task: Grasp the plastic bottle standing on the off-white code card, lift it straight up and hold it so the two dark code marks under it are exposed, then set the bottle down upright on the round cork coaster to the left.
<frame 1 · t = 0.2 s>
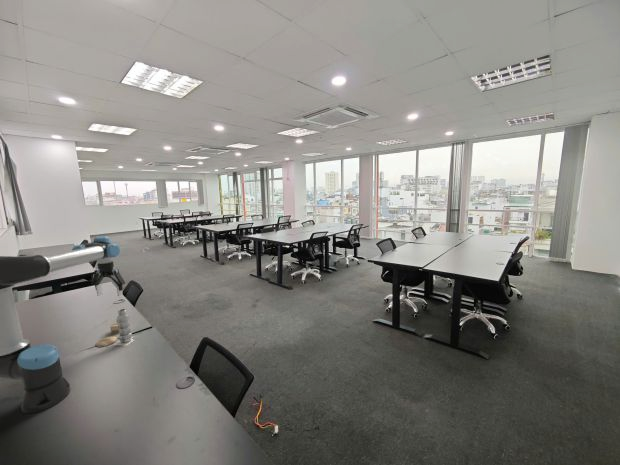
hand: (110, 295, 157), 27 cm above the table, fingers open, 13 cm apart
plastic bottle: (126, 341, 155), resting on code card
cork coaster: (107, 342, 154), on the table
code card: (126, 341, 155), on the table
oak block: (117, 331, 166), on the table
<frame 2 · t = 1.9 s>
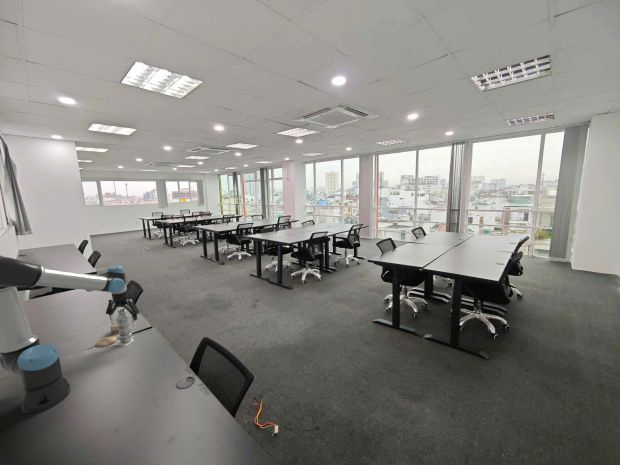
hand: (124, 324, 154), 11 cm above the table, fingers open, 13 cm apart
nothing on the table moved.
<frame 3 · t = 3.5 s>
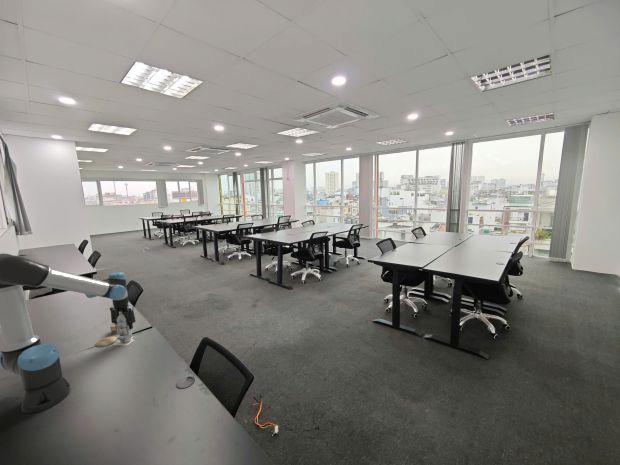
hand: (125, 333, 154), 5 cm above the table, fingers closed on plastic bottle, 6 cm apart
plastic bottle: (126, 341, 155), resting on code card, touching gripper
everything else where it was.
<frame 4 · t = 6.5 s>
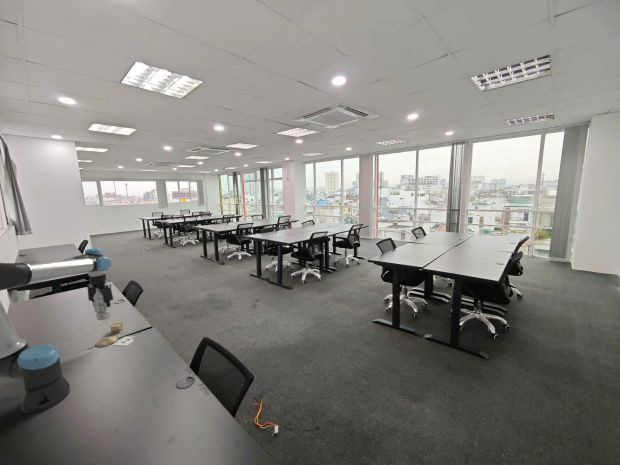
hand: (102, 311, 151), 20 cm above the table, fingers closed on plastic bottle, 6 cm apart
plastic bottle: (104, 319, 152), point 15 cm above the table, touching gripper
everything else where it was.
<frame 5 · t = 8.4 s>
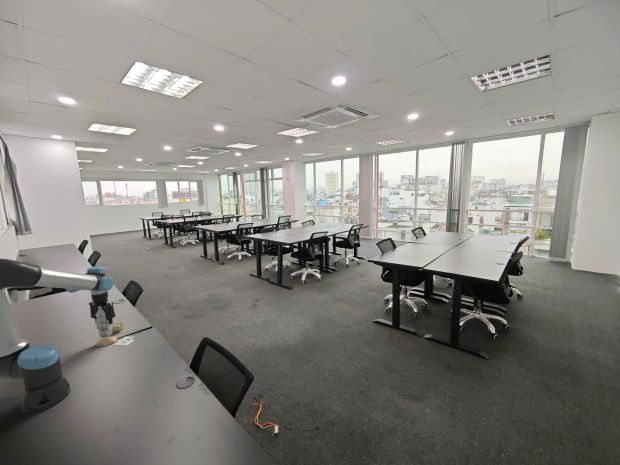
hand: (105, 328, 153), 9 cm above the table, fingers closed on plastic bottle, 6 cm apart
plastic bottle: (106, 336, 154), point 4 cm above the table, touching gripper
everything else where it was.
when the fingers open (6 cm above the table, at t = 9.8 s): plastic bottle stays where it is, resting on cork coaster.
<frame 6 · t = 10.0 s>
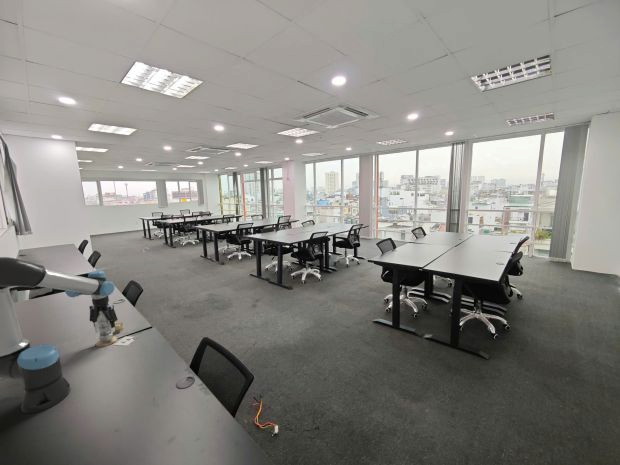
hand: (105, 332, 153), 7 cm above the table, fingers open, 9 cm apart
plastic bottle: (106, 341, 154), resting on cork coaster
everything else where it was.
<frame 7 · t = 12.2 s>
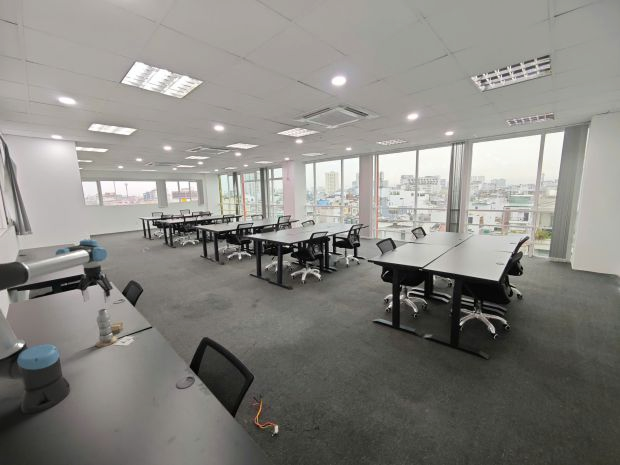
hand: (97, 301, 149), 27 cm above the table, fingers open, 13 cm apart
nothing on the table moved.
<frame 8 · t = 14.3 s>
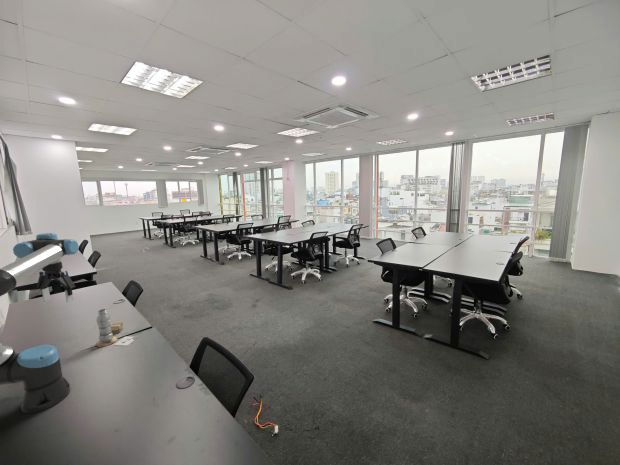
hand: (58, 300, 136), 33 cm above the table, fingers open, 13 cm apart
nothing on the table moved.
at the end: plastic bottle 0.1 cm from the cork coaster (horizontally); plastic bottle tilted 0°; the gripper is holding nothing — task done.
